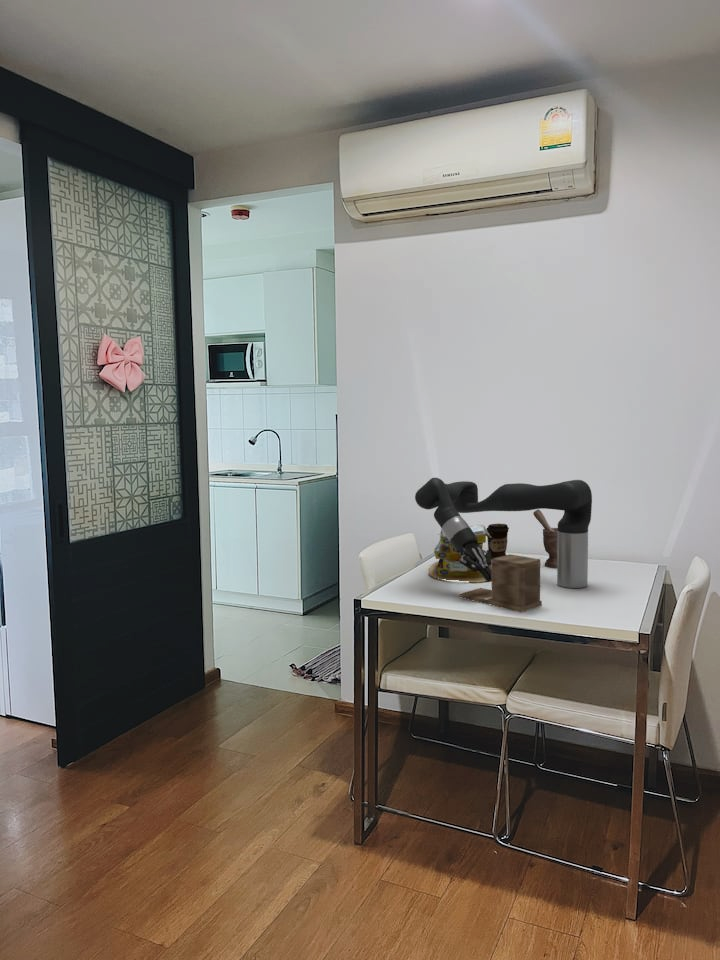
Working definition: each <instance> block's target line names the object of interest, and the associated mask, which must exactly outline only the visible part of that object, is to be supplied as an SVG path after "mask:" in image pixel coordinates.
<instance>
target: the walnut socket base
mask: <svg viewBox="0 0 720 960" xmlns="http://www.w3.org/2000/svg"><path fill="white" fill-rule="evenodd" d="M460 597H462V598H461V599H463V598H466V599H465V600H467V599H469V600H468V601H472V600H474V601H473V602H476V601H478V602H477V603H480V602H482V603H481V604H484V603H486V604H485V605H489V604H491V605H490V606H493V605H494V607H497V606H498V608H501V607H502V609H506V610H510V611H514V612H518V613H519V612H520V613H523V612H526V611H528V610H531V609H534V608H537V607H540V606H542V605H543V604H542V603H543V601H542V600H541V559H540V558H534V557H528V556H523V555H515V554H509V553H508V554H506V555H505V556H501V557H497V558H493V559H492V581H491V589H488V588H484V587H479V588H475V589H472V590H468V591H465V592H461V593H459V598H460Z"/></svg>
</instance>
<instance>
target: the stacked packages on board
mask: <svg viewBox="0 0 720 960" xmlns="http://www.w3.org/2000/svg"><path fill="white" fill-rule="evenodd" d="M468 526H469V527H470V528H471V530H472V531H473V533H474V534H475V535H476V537H477V538H478V545H479V546H481V547H482V548H483V547H484V546H483V545H484V544H485V543H486V541H487V539H488V538H492V537H491V536H490V535H489V533H488V531H487V530H486V529H487V528H486V526H485V525H483V524H478V525H477V524H476V525H468ZM440 529H441V530H440V533H438V536H439V541H438V543H437V544H436V546H435V548H434V551H433V552H434V556H435V559H436V560H437V561H435V562H434V563H432V564H430V566H429V567H428V569H427V571H428V574H429V575H430V576H431V577H432V578H435V579H436V578H439V579H446V580H459V581H469V582H477V583H482V582H487V580H485V578H484V577H483V575H482V574H481V573H479V572H478V571H476V572H474V571H472V570H471V569H469V568H468V567H466V566H464V565H463V564H461V563H460V562H459V560H460V559H461V558H462V556H461V554H460V553H457V551H456V550H455V549H454V547H453V546H452V544H451V543H450V541H449V540H448V538H447V537H446V535H445V534H444V531H443V530H442V528H440ZM486 537H488V538H487V539H486ZM491 562H492V560H491ZM471 566H472V565H471ZM489 569H490V570H491V571H492V564H491V565H490V566H489ZM439 579H438V580H439Z"/></svg>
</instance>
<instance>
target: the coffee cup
mask: <svg viewBox="0 0 720 960" xmlns="http://www.w3.org/2000/svg"><path fill="white" fill-rule="evenodd" d="M486 530H487V531H488V533H489V535H490V536H491V537H492V538H488V537H487V536H486V537H487V550H490V552H491V560H492V559H493V558H497V557H501V556H505V555H507V552H506V551H507V547H508V533H509V530H510V528H509V526H508V524H505V523H492V524H488V526H487V528H486Z"/></svg>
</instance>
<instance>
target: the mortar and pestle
mask: <svg viewBox="0 0 720 960" xmlns="http://www.w3.org/2000/svg"><path fill="white" fill-rule="evenodd" d="M532 513H533V516H534V518H535V519H536V520H537V522H539V524H541V526H542V527H543V528H542V536H543V537H542V540H543V541H542V542H543V548H544V550H545V552H546V554H548V558H547V559H546V560H545V562H544V564H545V565H544V566H545V567H548V568H557V551H558V527H552V526H550V524H549V523H548V521H547V519H546V517H545V515H544V513H543V512H542V511H541V509H535V511H533V512H532Z"/></svg>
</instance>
